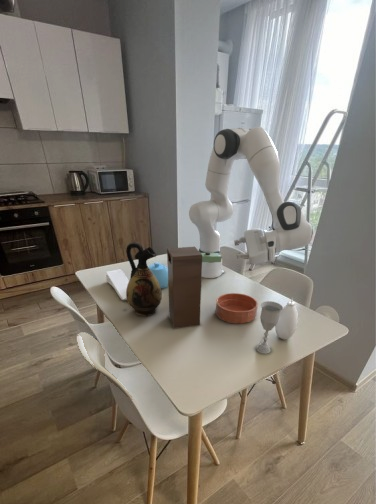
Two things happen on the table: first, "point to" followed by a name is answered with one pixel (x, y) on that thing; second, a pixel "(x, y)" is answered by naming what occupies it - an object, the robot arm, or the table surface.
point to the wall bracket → (118, 282)
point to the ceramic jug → (142, 282)
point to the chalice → (268, 322)
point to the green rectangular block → (211, 257)
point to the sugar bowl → (160, 274)
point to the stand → (184, 286)
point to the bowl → (236, 308)
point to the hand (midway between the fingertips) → (235, 249)
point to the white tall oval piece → (287, 321)
